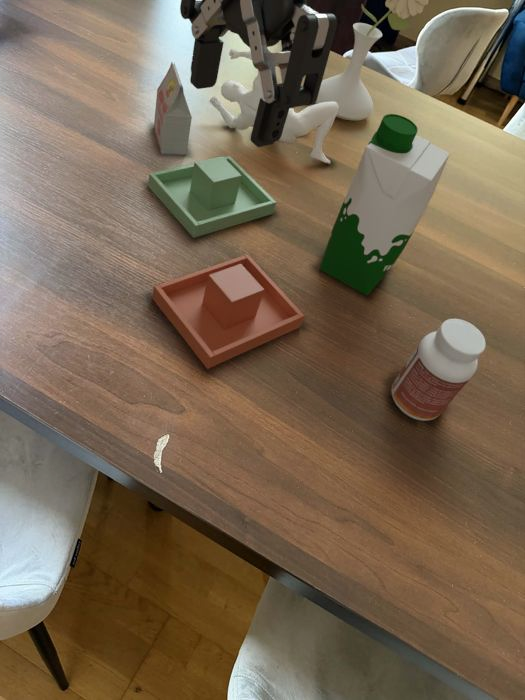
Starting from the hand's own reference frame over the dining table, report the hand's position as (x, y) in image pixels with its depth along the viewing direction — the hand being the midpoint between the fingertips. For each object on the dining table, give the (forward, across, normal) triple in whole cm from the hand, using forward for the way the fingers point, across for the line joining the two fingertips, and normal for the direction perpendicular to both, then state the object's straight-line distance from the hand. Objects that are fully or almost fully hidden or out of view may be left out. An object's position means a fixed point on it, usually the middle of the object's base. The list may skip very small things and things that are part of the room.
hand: (231, 113), depth 47 cm
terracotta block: (+24, +2, +4) cm, 24 cm away
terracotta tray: (+24, +2, +4) cm, 24 cm away
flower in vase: (+24, -29, +52) cm, 64 cm away
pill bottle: (+24, +22, +16) cm, 36 cm away
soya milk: (+24, +3, +24) cm, 34 cm away
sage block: (+24, -16, +14) cm, 32 cm away
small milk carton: (+24, -30, +16) cm, 42 cm away
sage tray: (+24, -16, +14) cm, 32 cm away
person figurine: (+24, -25, +31) cm, 47 cm away
